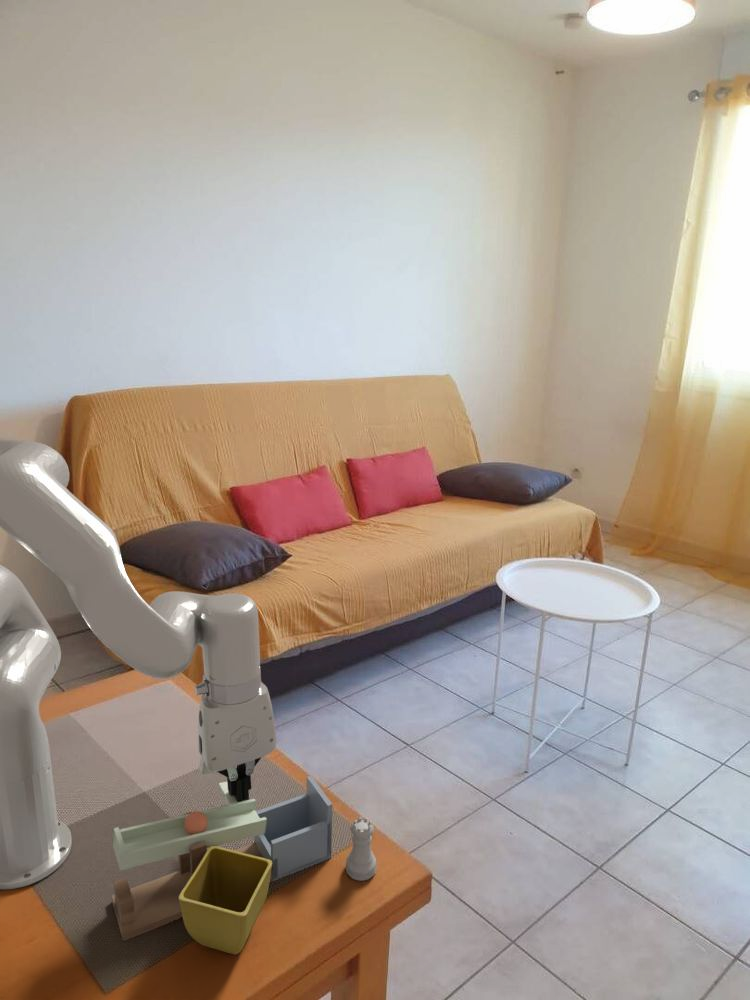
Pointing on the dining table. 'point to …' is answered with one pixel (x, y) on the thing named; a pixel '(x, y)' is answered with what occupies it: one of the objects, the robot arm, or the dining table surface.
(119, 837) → the lever
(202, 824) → the ball
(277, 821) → the blue-grey box
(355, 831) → the rook chess piece
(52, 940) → the dining table surface
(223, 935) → the flower pot
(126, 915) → the catapult base
